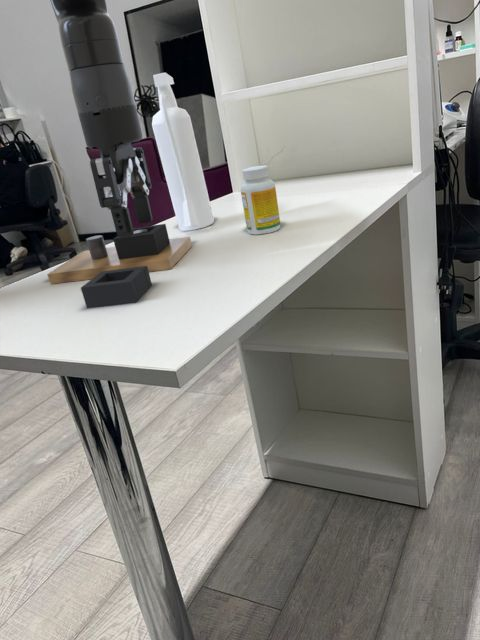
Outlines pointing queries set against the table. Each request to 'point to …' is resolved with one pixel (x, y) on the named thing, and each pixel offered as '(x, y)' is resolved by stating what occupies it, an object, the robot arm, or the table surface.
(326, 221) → the table surface
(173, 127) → the white spray bottle
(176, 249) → the wooden board
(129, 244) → the black square holder
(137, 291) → the dark grey square ring
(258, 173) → the supplement bottle
